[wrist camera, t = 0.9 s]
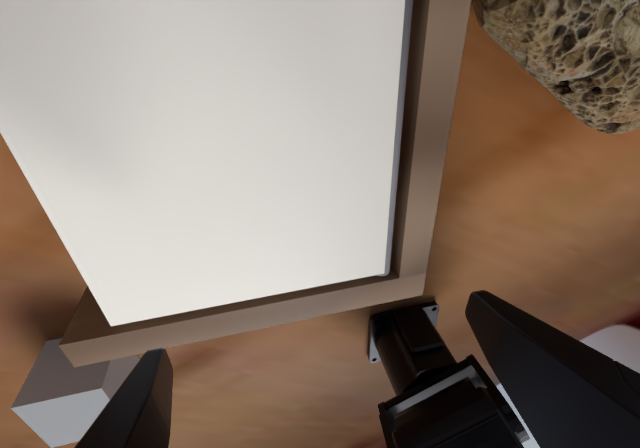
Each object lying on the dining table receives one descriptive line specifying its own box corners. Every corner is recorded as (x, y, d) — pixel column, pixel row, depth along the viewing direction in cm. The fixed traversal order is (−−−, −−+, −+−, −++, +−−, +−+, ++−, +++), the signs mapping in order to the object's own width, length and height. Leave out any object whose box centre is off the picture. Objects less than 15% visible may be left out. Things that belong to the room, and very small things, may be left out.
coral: (640, 47, 23) (758, 60, 18) (567, 129, 25) (654, 161, 20) (512, -129, 16) (641, -186, 11) (430, 3, 18) (506, 5, 13)
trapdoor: (385, 262, 17) (392, 275, 16) (118, 311, 15) (112, 329, 14) (409, -57, 10) (424, -62, 10) (-70, -42, 8) (-102, -46, 8)
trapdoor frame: (367, 211, 25) (422, 295, 18) (122, 251, 22) (74, 367, 15) (377, -87, 16) (497, -155, 9) (-30, -79, 13) (-317, -169, 6)
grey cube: (144, 366, 28) (130, 428, 24) (77, 380, 27) (51, 447, 23) (121, 325, 25) (101, 388, 21) (46, 340, 25) (10, 408, 20)
